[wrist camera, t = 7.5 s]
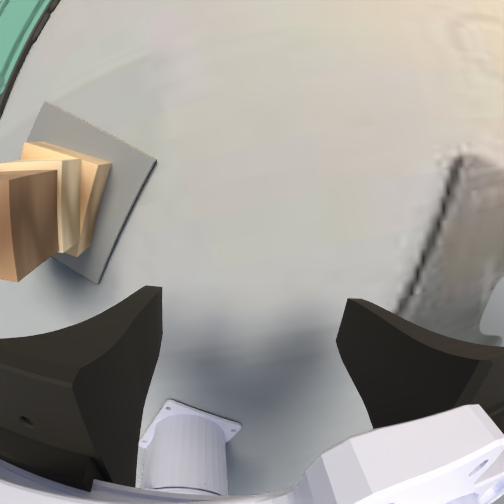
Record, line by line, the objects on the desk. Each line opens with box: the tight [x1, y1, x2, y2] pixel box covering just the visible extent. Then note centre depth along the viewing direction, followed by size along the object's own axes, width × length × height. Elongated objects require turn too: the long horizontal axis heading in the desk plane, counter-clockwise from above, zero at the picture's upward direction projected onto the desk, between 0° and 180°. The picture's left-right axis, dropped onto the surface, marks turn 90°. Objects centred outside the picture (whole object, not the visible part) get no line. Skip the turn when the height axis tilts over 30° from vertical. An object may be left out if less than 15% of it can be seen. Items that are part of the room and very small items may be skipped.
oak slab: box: [20, 142, 112, 257], centre depth 17 cm, size 6×6×2 cm
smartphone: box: [0, 0, 59, 116], centre depth 13 cm, size 7×1×15 cm
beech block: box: [0, 159, 81, 253], centre depth 15 cm, size 5×5×2 cm
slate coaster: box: [20, 102, 157, 284], centre depth 18 cm, size 10×10×1 cm
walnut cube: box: [0, 170, 59, 282], centre depth 11 cm, size 4×4×4 cm
